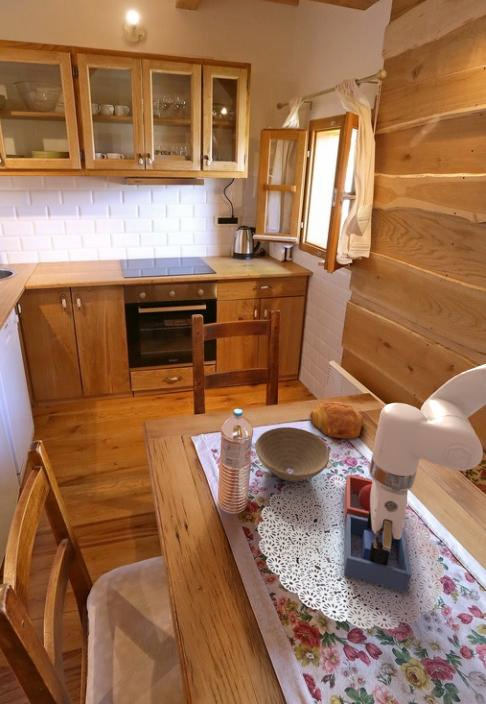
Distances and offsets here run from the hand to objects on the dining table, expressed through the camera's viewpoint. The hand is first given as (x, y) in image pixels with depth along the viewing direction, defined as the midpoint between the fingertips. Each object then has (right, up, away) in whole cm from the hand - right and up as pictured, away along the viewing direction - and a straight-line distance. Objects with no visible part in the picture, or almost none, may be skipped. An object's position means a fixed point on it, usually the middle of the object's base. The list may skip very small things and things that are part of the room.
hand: (376, 544), depth 79 cm
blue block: (0, -4, +1) cm, 4 cm away
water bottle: (-27, +1, +14) cm, 31 cm away
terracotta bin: (+3, 0, +13) cm, 13 cm away
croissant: (+5, +11, +44) cm, 46 cm away
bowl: (-13, +4, +25) cm, 28 cm away
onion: (+3, 0, +13) cm, 13 cm away
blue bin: (0, -4, +2) cm, 5 cm away
